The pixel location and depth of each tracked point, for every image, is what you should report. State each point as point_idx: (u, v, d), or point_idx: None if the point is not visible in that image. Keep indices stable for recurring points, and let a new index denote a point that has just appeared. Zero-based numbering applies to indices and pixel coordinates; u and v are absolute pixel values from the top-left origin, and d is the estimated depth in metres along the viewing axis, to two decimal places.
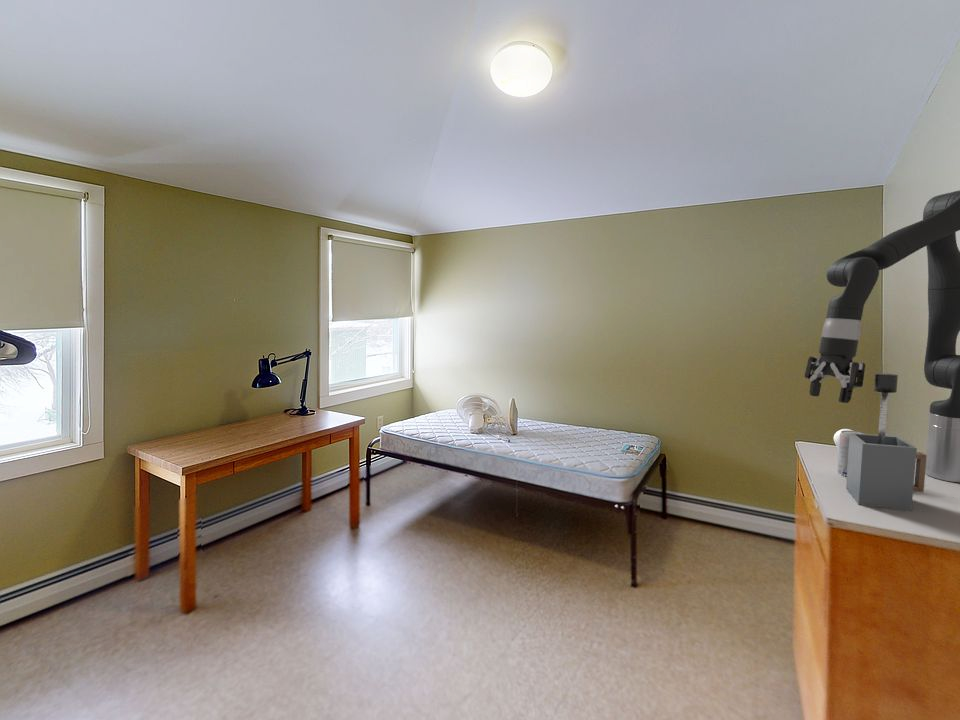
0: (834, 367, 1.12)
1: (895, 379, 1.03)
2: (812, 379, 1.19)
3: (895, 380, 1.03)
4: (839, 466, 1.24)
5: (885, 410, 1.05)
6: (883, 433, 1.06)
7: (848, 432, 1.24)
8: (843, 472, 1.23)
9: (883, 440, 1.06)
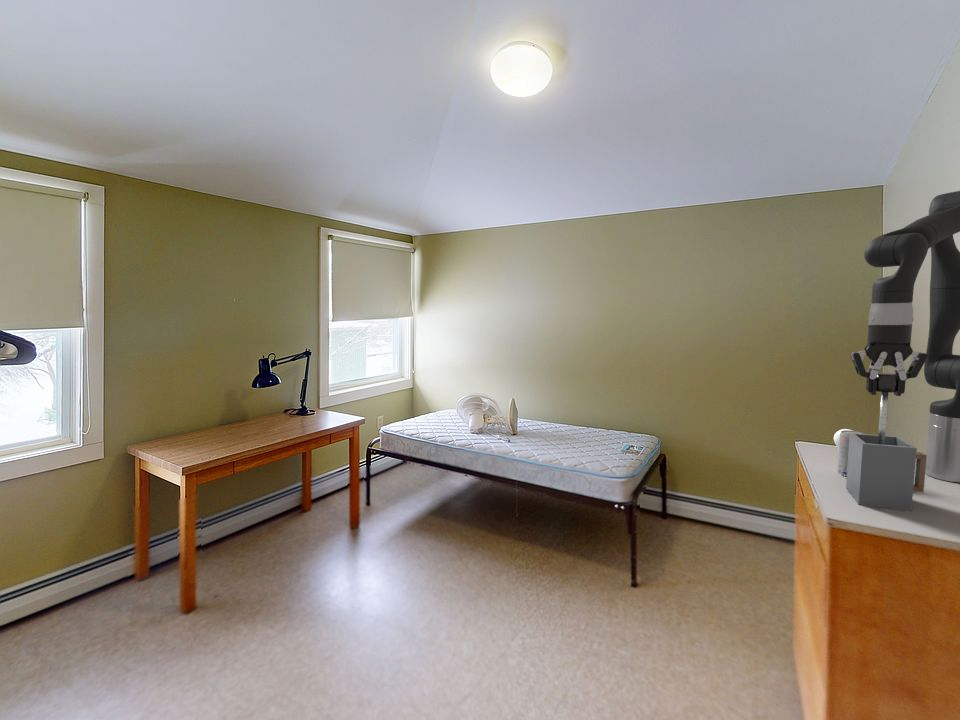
0: (900, 357, 1.02)
1: (895, 379, 1.03)
2: (874, 376, 1.05)
3: (895, 380, 1.03)
4: (839, 466, 1.24)
5: (885, 410, 1.05)
6: (883, 433, 1.06)
7: (848, 432, 1.24)
8: (843, 472, 1.23)
9: (883, 440, 1.06)
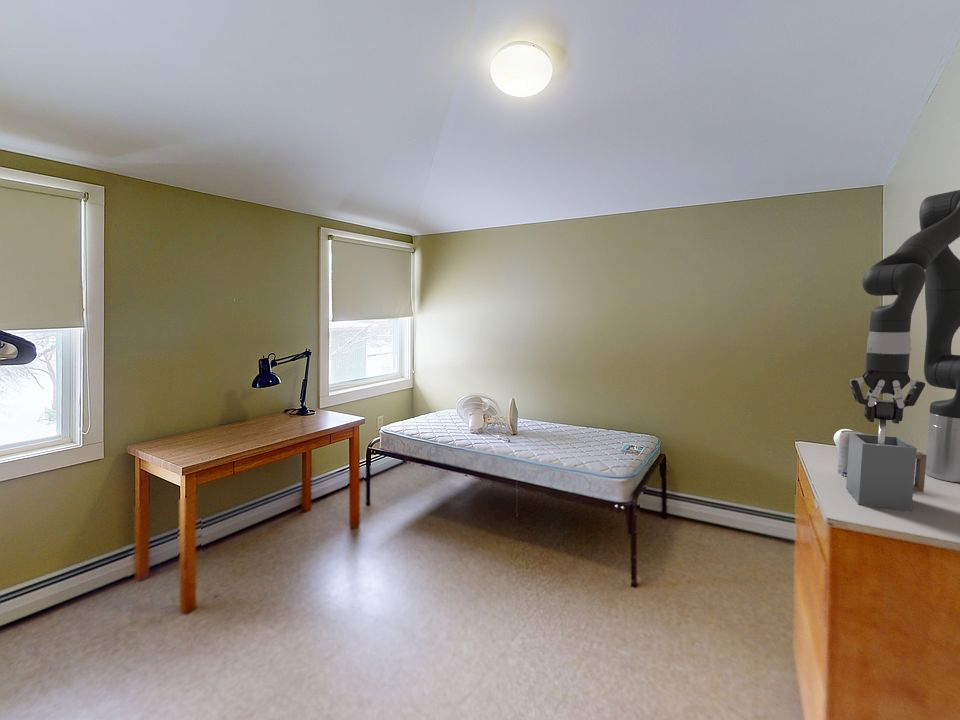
0: (898, 386, 1.02)
1: (893, 407, 1.03)
2: (872, 404, 1.05)
3: (893, 408, 1.04)
4: (839, 466, 1.24)
5: (883, 437, 1.06)
6: None
7: (848, 432, 1.24)
8: (843, 472, 1.23)
9: None
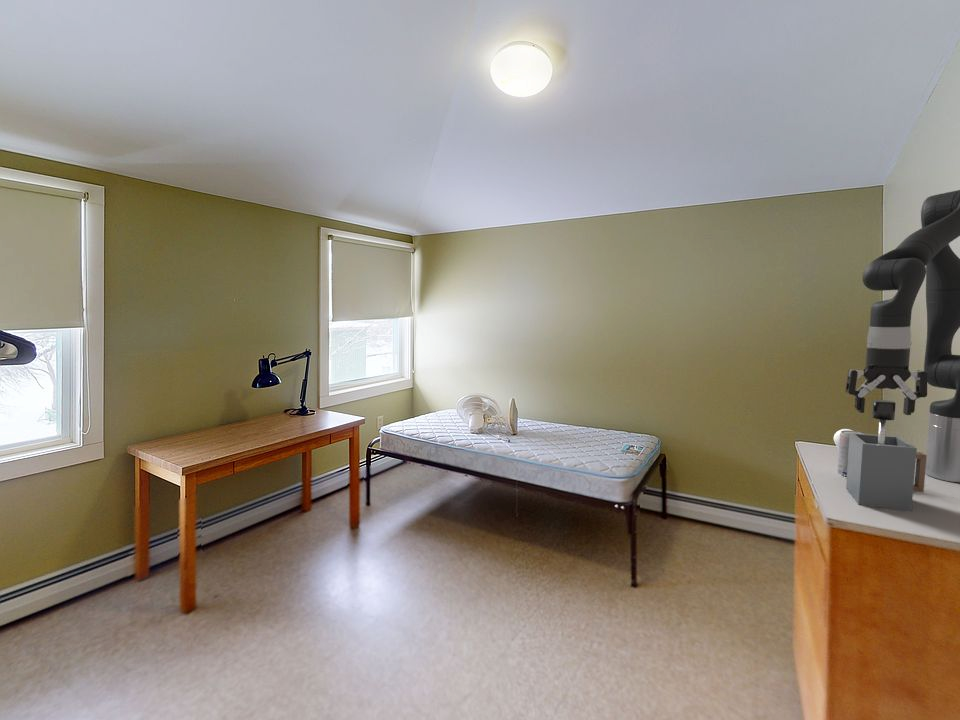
0: (900, 379, 1.02)
1: (893, 407, 1.03)
2: (862, 395, 1.06)
3: (893, 408, 1.04)
4: (839, 466, 1.24)
5: (883, 437, 1.06)
6: None
7: (848, 432, 1.24)
8: (843, 472, 1.23)
9: None
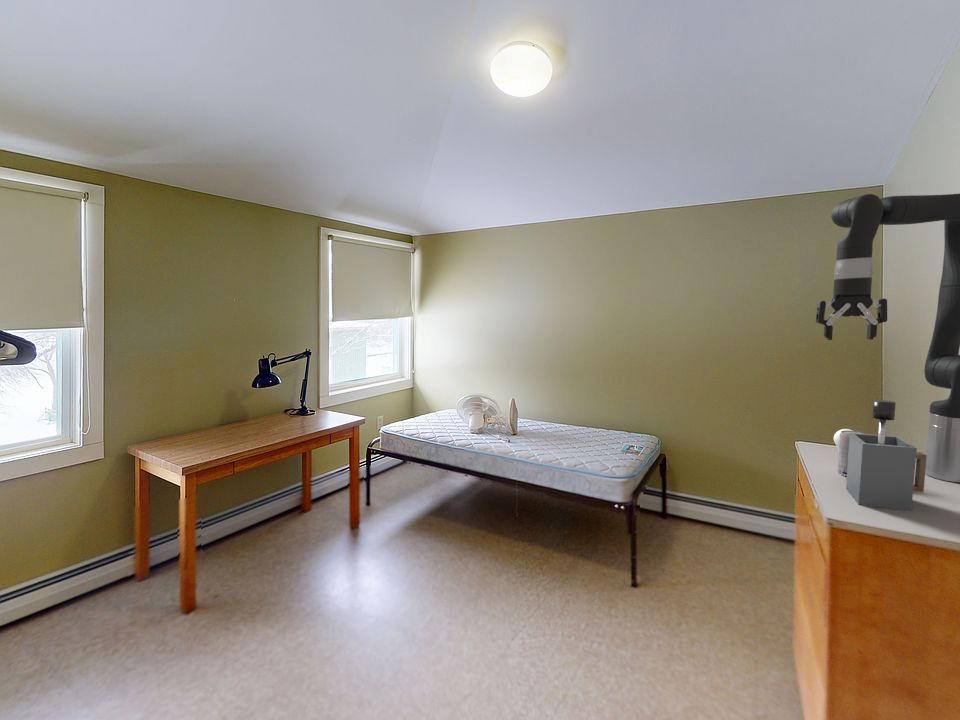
0: (863, 306, 1.12)
1: (893, 407, 1.03)
2: (830, 323, 1.16)
3: (893, 408, 1.04)
4: (839, 466, 1.24)
5: (883, 437, 1.06)
6: None
7: (848, 432, 1.24)
8: (843, 472, 1.23)
9: None
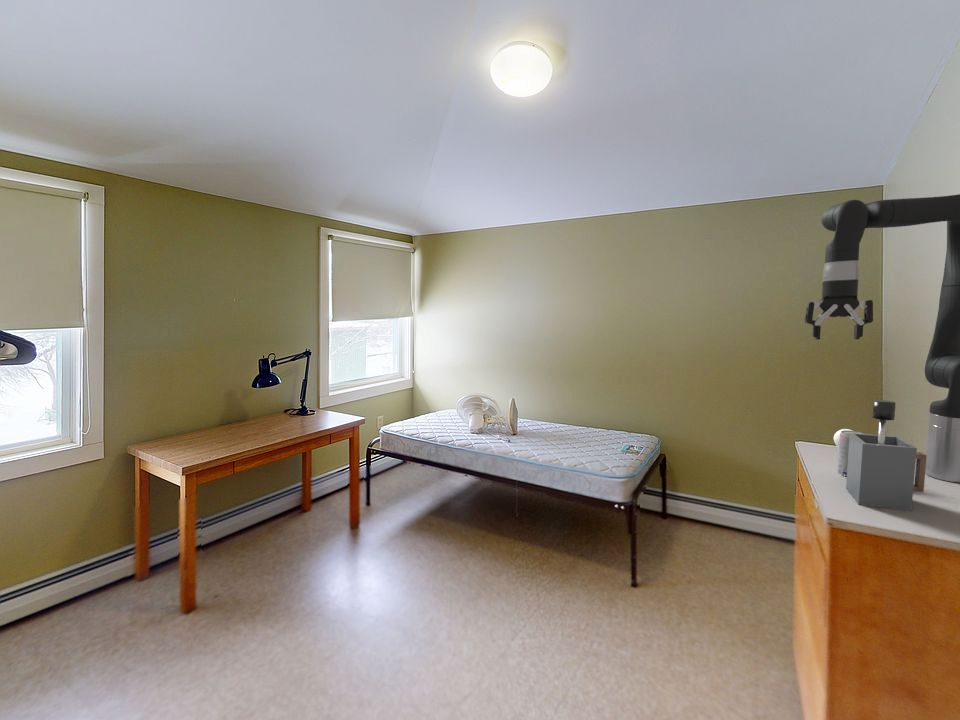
0: (850, 307, 1.17)
1: (893, 407, 1.03)
2: (818, 323, 1.21)
3: (893, 408, 1.04)
4: (839, 466, 1.24)
5: (883, 437, 1.06)
6: None
7: (848, 432, 1.24)
8: (843, 472, 1.23)
9: None
